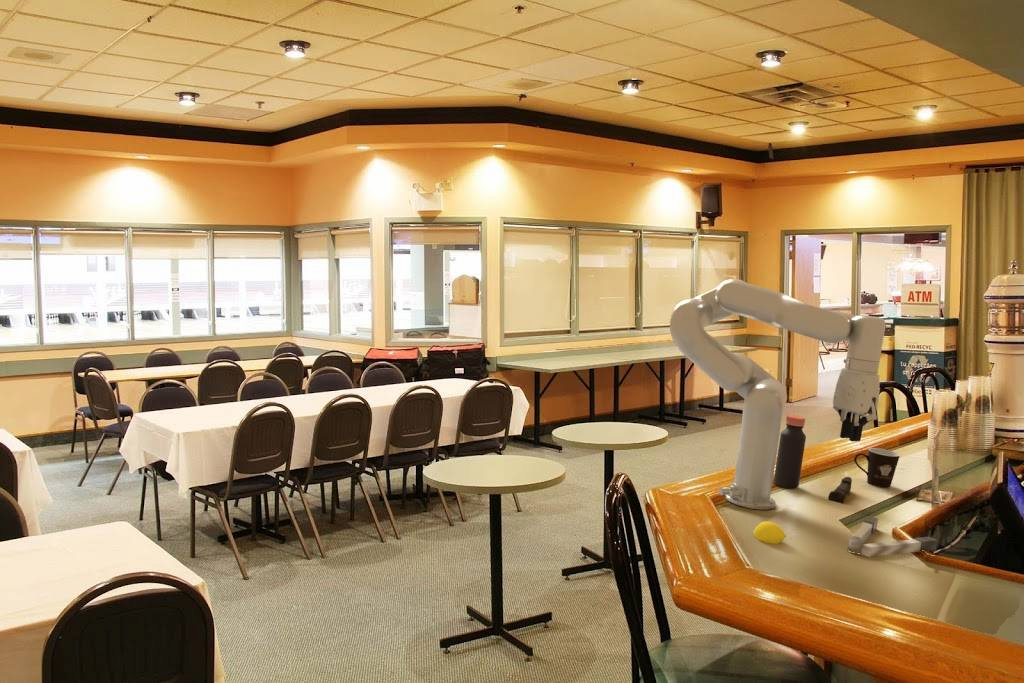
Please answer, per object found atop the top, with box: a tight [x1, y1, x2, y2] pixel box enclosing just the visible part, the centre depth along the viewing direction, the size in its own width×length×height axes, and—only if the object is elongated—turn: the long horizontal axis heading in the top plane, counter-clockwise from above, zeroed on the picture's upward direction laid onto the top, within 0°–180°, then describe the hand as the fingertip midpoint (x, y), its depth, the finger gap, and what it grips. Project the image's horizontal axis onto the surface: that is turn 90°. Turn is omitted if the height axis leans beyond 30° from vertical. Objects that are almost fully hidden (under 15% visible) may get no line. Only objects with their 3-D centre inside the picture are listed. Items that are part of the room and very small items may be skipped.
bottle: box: [773, 414, 807, 490], centre depth 231 cm, size 7×7×20 cm
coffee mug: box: [853, 447, 901, 489], centre depth 245 cm, size 12×9×10 cm
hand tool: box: [827, 476, 853, 505], centre depth 226 cm, size 19×4×5 cm, turn 146°
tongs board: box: [847, 536, 938, 558], centre depth 187 cm, size 28×20×4 cm
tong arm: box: [851, 515, 879, 544], centre depth 190 cm, size 18×2×3 cm, turn 146°
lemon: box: [753, 520, 787, 545], centre depth 181 cm, size 7×5×5 cm
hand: (850, 438), depth 202 cm, fingers closed
